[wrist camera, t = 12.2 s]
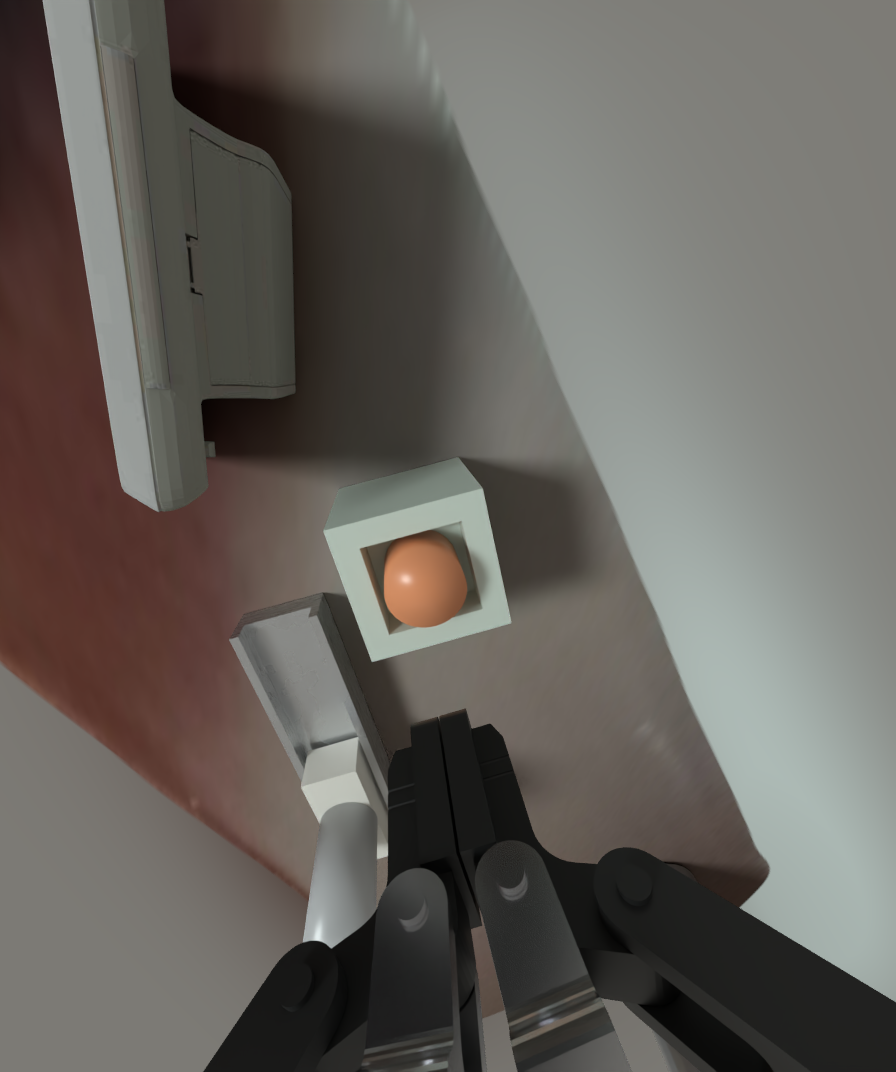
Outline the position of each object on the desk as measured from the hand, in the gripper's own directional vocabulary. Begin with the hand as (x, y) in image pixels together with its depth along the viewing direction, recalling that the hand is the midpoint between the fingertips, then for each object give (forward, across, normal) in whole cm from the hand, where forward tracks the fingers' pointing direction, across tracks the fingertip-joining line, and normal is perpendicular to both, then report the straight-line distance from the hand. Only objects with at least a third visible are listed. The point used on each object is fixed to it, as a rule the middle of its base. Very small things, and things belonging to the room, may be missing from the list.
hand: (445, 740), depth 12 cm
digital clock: (+16, +6, -15) cm, 23 cm away
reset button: (+11, 0, 0) cm, 11 cm away
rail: (+16, +9, +11) cm, 21 cm away
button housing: (+16, 0, 0) cm, 16 cm away
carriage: (+15, +9, +16) cm, 24 cm away
